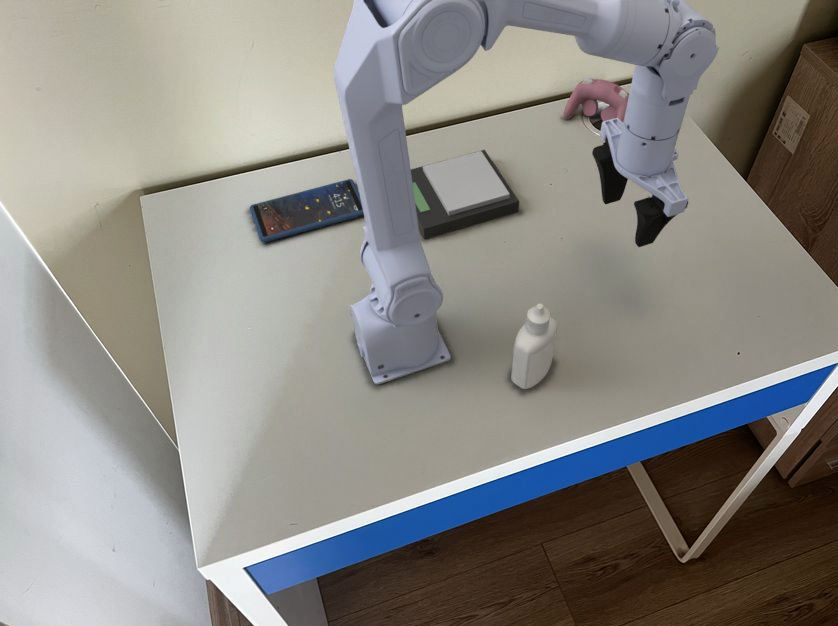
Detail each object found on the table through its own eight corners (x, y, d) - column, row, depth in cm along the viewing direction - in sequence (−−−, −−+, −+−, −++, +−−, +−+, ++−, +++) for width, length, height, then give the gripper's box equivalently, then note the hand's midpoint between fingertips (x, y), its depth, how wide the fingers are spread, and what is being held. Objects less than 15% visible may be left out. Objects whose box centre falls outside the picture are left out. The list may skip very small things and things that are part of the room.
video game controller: (625, 136, 110) (641, 91, 107) (616, 139, 106) (633, 92, 103) (569, 116, 113) (583, 71, 110) (559, 118, 109) (573, 72, 106)
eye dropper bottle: (561, 378, 82) (573, 313, 72) (517, 393, 80) (523, 329, 71) (544, 350, 84) (555, 283, 74) (501, 364, 83) (506, 298, 73)
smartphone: (248, 204, 97) (352, 177, 101) (249, 209, 98) (352, 181, 101) (260, 241, 93) (368, 211, 97) (261, 245, 94) (368, 215, 97)
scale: (424, 239, 95) (423, 224, 93) (395, 184, 101) (393, 169, 99) (518, 211, 98) (519, 196, 96) (484, 160, 104) (484, 144, 102)
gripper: (726, 155, 68) (691, 253, 79) (648, 76, 76) (626, 174, 87) (664, 174, 67) (636, 271, 78) (591, 90, 75) (575, 189, 86)
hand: (627, 221), depth 82 cm, fingers open, 7 cm apart
